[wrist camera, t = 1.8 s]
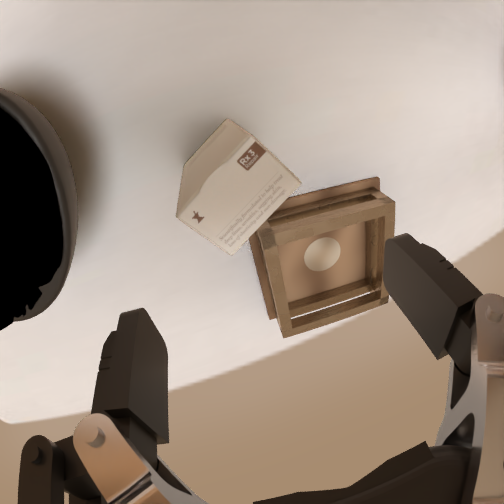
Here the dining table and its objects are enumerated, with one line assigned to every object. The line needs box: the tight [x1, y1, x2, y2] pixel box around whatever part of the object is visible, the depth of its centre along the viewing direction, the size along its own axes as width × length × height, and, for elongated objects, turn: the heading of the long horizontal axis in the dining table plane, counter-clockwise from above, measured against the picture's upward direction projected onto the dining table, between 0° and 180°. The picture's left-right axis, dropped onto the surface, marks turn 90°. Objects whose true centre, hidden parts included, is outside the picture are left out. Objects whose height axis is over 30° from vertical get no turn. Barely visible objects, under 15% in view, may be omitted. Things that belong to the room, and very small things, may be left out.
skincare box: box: [176, 119, 301, 255], centre depth 21 cm, size 6×4×12 cm
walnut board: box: [249, 177, 380, 320], centre depth 33 cm, size 15×15×1 cm
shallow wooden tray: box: [256, 187, 395, 338], centre depth 31 cm, size 13×13×4 cm
